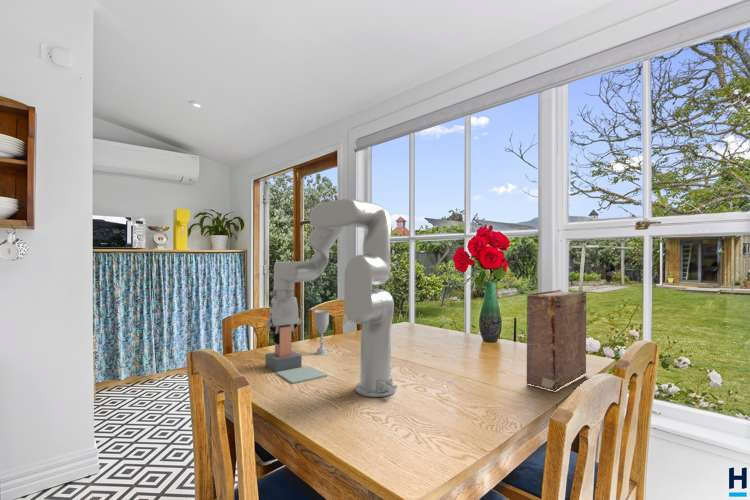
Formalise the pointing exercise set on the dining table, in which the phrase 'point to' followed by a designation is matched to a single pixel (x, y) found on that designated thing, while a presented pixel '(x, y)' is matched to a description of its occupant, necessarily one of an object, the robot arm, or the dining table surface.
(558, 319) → the book
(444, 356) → the dining table surface
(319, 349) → the chalice
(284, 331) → the plug
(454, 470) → the dining table surface
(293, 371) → the mat
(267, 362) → the grey square socket block
